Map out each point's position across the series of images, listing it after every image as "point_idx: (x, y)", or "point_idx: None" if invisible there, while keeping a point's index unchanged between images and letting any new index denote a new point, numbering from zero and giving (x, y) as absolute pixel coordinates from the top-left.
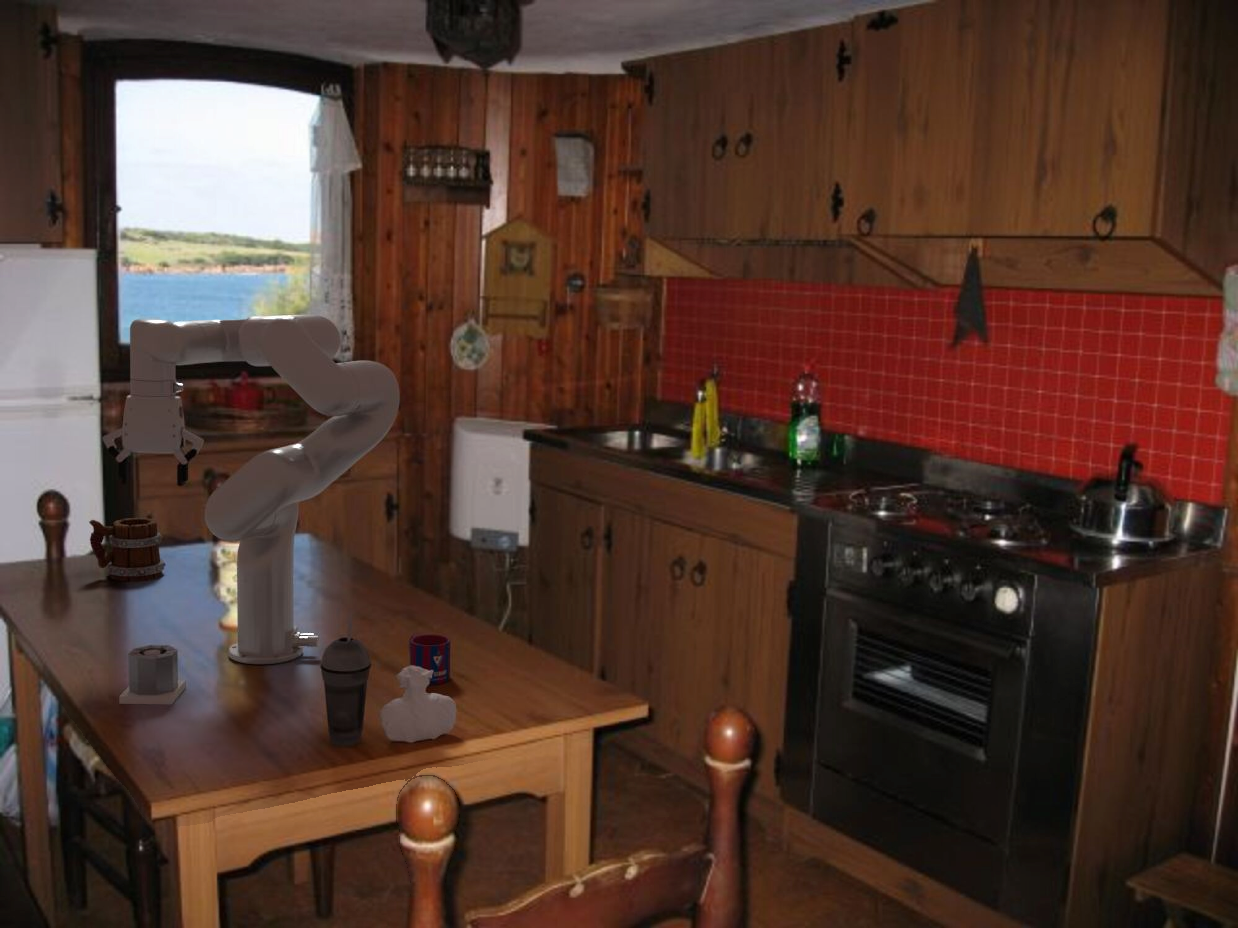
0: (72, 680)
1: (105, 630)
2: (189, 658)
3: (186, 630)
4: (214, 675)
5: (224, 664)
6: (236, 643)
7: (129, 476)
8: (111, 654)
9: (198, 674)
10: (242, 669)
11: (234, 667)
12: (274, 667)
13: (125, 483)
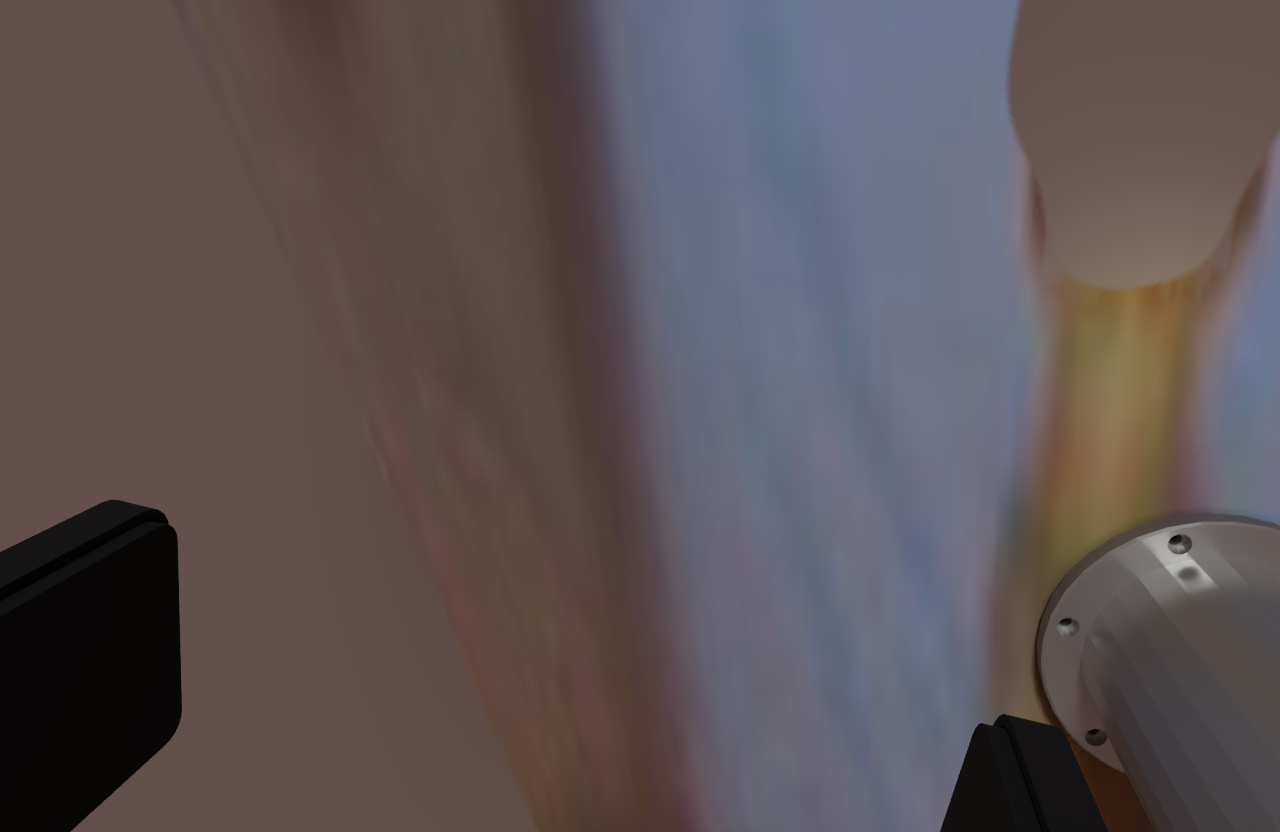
0: (527, 749)
1: (532, 202)
2: (882, 628)
3: (871, 250)
4: None
5: None
6: (1083, 581)
7: (114, 605)
8: (602, 524)
9: (912, 796)
10: None
11: None
12: None
13: (170, 721)
